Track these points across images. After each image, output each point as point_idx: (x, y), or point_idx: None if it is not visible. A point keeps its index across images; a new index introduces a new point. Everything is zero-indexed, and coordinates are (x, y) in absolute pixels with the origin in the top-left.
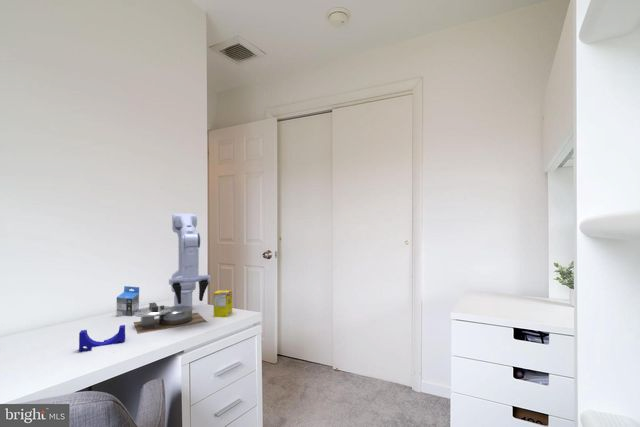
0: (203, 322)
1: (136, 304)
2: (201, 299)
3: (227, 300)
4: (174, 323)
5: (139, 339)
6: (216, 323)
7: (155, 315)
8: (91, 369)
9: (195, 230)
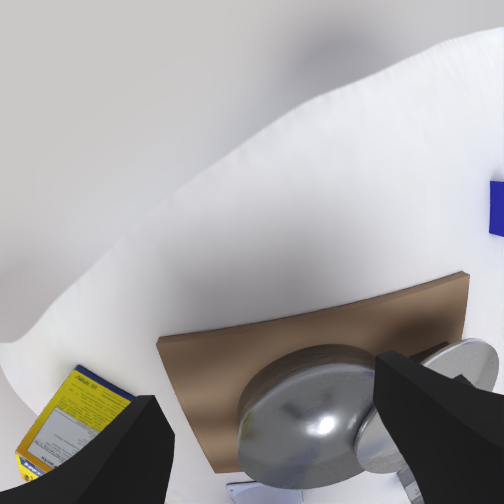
0: (177, 342)
1: (417, 493)
2: (140, 403)
3: (34, 423)
4: (337, 349)
5: (460, 229)
6: (116, 331)
7: (454, 344)
8: (496, 43)
9: None
